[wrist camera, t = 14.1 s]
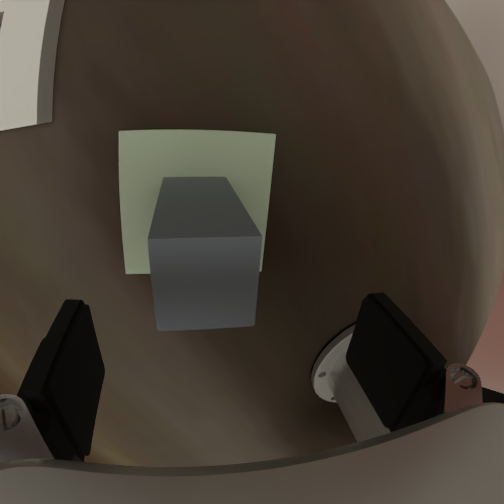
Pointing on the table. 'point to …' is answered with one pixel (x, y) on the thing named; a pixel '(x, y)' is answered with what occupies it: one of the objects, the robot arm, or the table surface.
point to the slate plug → (203, 256)
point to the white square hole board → (28, 60)
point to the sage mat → (188, 165)
